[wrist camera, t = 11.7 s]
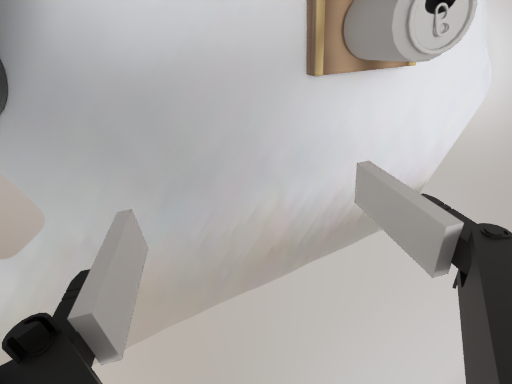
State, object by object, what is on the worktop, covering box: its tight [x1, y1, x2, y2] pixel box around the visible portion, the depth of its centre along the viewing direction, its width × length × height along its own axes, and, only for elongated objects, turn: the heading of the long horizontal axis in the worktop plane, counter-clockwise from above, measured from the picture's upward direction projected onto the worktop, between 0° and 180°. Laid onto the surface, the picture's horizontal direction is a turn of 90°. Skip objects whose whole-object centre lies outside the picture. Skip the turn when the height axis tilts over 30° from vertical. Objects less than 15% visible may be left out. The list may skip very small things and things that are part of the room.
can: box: [344, 0, 477, 62], centre depth 28 cm, size 8×8×12 cm
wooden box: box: [307, 0, 416, 76], centre depth 35 cm, size 14×10×3 cm
